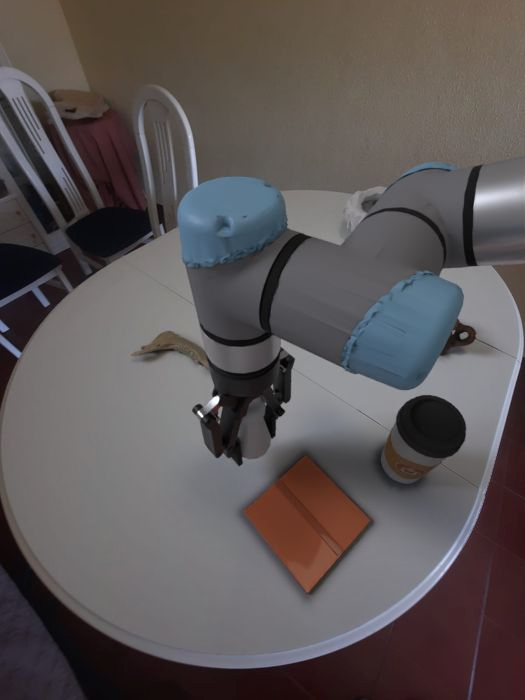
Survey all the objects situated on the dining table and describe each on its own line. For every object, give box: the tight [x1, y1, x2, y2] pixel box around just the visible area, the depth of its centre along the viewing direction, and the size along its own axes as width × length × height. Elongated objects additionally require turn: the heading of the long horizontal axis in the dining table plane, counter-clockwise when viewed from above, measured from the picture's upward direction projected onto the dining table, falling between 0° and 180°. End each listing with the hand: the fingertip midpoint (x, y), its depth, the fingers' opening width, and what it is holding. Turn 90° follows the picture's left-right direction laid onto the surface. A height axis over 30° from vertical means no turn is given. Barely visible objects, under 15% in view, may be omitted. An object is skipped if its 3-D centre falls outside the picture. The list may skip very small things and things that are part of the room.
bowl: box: [342, 185, 387, 232], centre depth 93 cm, size 21×20×10 cm
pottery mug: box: [440, 318, 477, 355], centre depth 69 cm, size 12×10×8 cm
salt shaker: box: [236, 396, 272, 460], centre depth 47 cm, size 6×6×13 cm
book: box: [243, 454, 372, 594], centre depth 49 cm, size 13×13×1 cm
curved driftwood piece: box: [130, 330, 209, 370], centre depth 69 cm, size 9×20×2 cm, turn 75°
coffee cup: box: [380, 394, 467, 485], centre depth 48 cm, size 8×8×15 cm
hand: (252, 444), depth 52 cm, fingers closed on salt shaker, 6 cm apart
